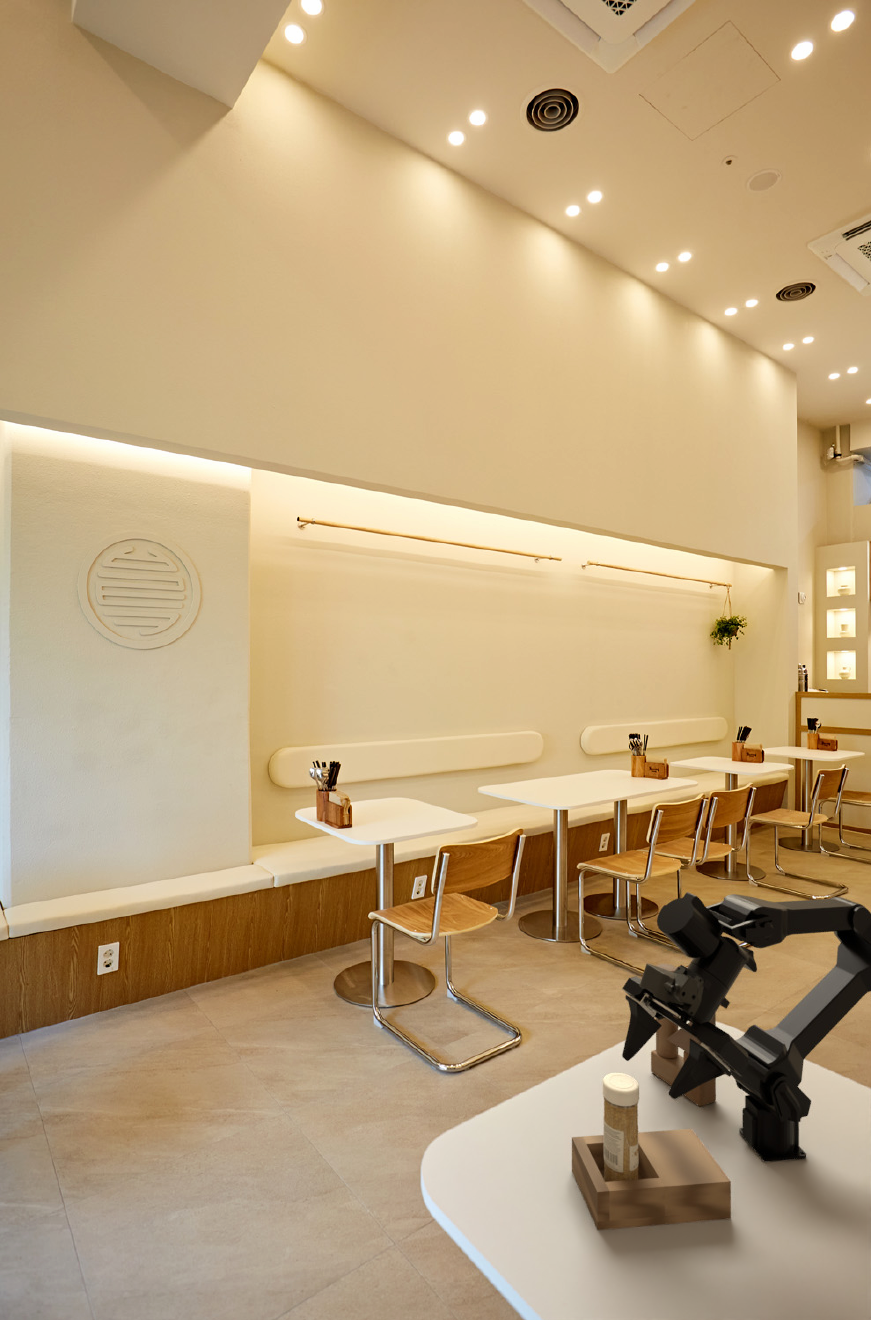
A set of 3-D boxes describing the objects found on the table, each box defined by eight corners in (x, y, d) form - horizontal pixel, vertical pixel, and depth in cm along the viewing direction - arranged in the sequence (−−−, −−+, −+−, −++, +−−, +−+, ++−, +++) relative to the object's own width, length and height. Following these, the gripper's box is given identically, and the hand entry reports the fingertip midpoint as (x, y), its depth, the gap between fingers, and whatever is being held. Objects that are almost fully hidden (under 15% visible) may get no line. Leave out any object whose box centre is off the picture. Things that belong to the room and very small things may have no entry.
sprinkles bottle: (646, 1197, 87) (646, 1089, 88) (613, 1203, 86) (613, 1093, 86) (627, 1171, 92) (627, 1069, 92) (596, 1177, 91) (596, 1073, 91)
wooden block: (700, 1108, 107) (699, 990, 108) (650, 1072, 117) (649, 964, 117) (717, 1102, 109) (716, 986, 109) (666, 1067, 118) (666, 961, 119)
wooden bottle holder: (691, 1162, 95) (691, 1128, 95) (730, 1218, 85) (730, 1181, 85) (571, 1171, 93) (571, 1137, 93) (597, 1230, 83) (597, 1192, 83)
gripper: (631, 920, 102) (569, 1011, 98) (728, 971, 85) (659, 1084, 81) (674, 963, 105) (616, 1053, 101) (777, 1021, 88) (713, 1132, 84)
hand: (646, 1077), depth 92 cm, fingers open, 9 cm apart
